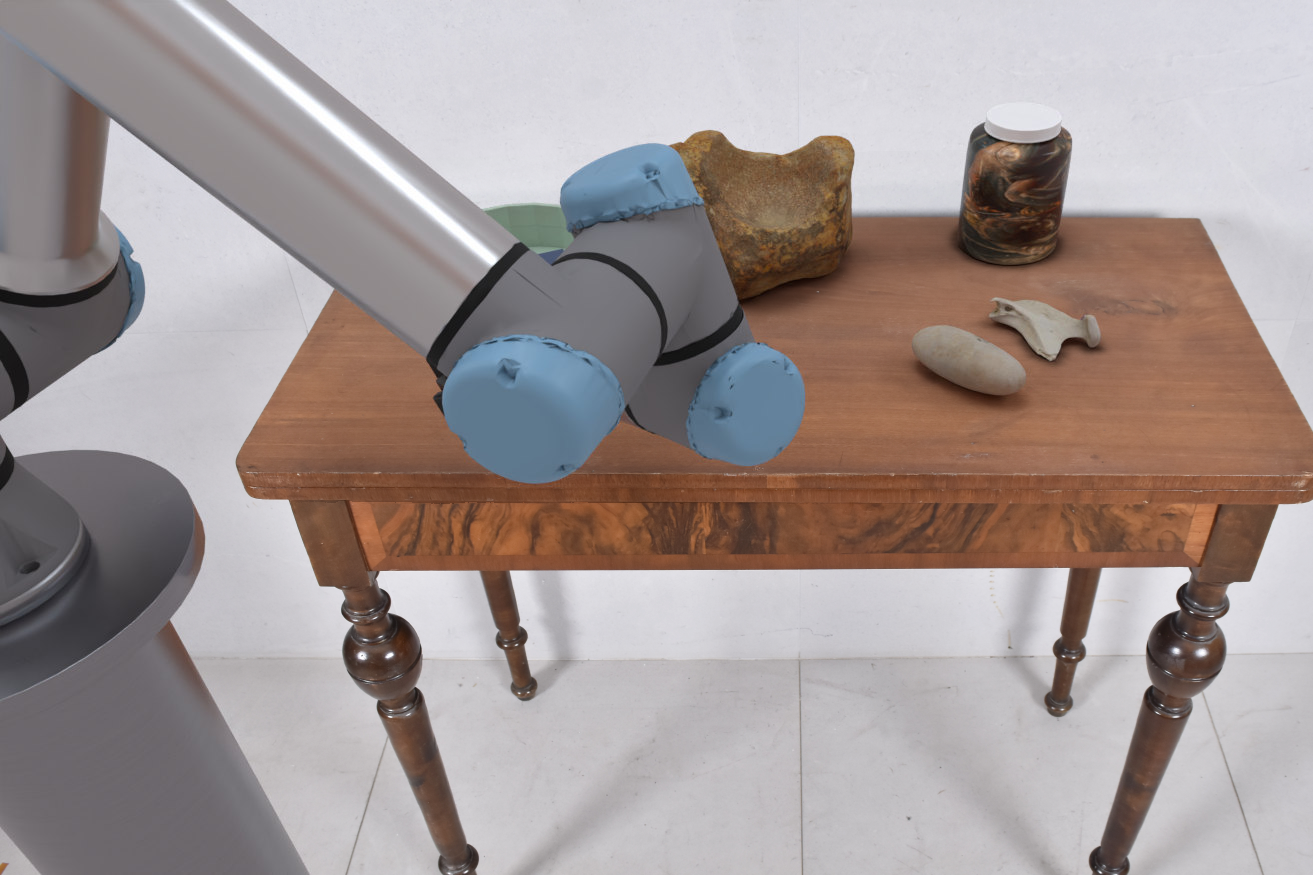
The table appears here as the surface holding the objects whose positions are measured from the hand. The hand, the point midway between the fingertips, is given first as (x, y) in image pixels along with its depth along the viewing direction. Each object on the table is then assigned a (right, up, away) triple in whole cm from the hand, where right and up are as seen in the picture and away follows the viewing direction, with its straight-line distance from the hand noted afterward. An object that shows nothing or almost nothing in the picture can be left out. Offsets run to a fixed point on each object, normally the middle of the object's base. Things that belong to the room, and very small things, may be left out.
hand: (503, 327), depth 91 cm
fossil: (+51, +2, +20) cm, 55 cm away
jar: (+51, +16, +35) cm, 64 cm away
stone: (+42, -3, +13) cm, 44 cm away
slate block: (-1, +8, +26) cm, 28 cm away
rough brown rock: (+22, +11, +30) cm, 38 cm away
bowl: (-5, +9, +28) cm, 30 cm away
